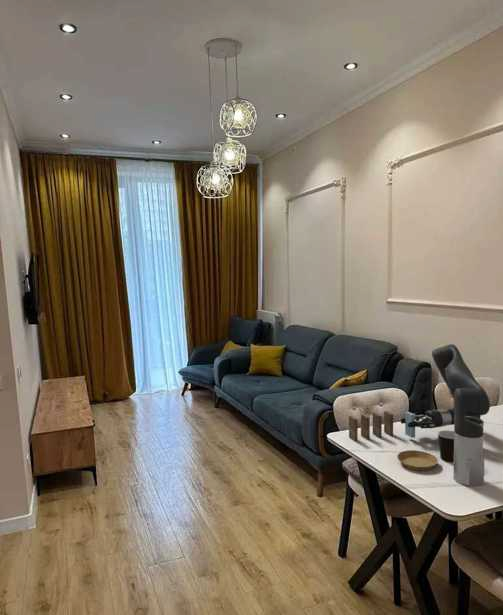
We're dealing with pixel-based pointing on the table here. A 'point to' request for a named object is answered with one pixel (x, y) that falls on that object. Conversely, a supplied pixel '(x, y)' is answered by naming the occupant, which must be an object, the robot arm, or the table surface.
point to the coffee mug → (446, 445)
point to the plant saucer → (417, 460)
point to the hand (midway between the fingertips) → (404, 422)
